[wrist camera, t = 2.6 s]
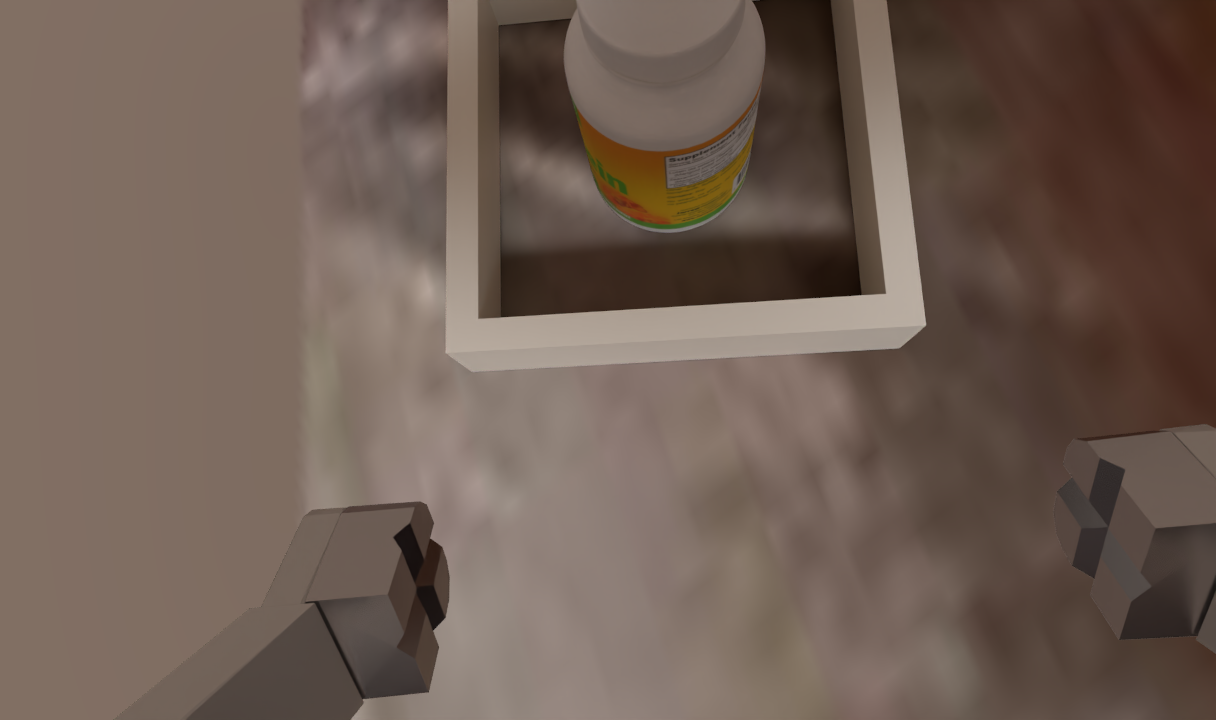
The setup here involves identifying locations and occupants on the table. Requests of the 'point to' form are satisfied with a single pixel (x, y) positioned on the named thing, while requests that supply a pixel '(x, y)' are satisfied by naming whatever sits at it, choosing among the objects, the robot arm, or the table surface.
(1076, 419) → the table surface
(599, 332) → the bin
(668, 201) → the supplement bottle
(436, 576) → the robot arm
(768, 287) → the table surface
